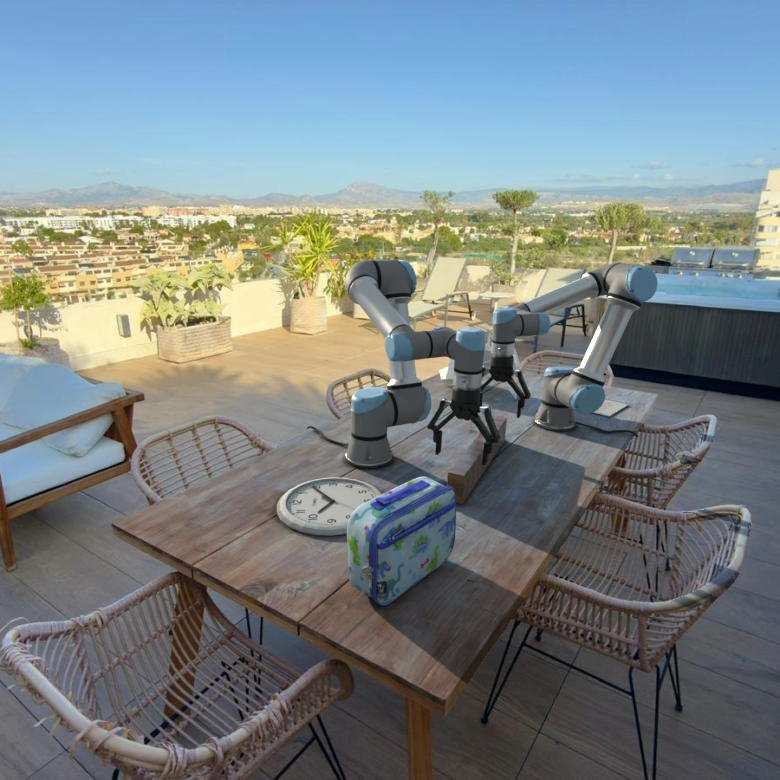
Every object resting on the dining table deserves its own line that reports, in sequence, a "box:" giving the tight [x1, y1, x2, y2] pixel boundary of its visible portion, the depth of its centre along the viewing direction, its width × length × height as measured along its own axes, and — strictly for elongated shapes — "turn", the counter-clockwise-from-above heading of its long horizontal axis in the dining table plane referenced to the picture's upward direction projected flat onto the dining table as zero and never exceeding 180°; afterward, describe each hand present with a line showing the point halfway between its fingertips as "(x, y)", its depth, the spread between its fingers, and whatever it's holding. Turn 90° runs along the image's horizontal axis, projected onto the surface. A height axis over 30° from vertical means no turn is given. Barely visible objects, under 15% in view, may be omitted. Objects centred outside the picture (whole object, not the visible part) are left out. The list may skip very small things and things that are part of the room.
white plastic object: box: [438, 311, 528, 400], centre depth 245 cm, size 37×45×31 cm
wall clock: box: [276, 476, 384, 537], centre depth 142 cm, size 30×2×30 cm
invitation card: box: [591, 398, 629, 418], centre depth 226 cm, size 21×1×15 cm
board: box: [446, 415, 508, 505], centre depth 166 cm, size 51×5×9 cm, turn 155°
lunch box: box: [346, 475, 457, 607], centre depth 111 cm, size 26×11×21 cm, turn 134°
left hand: (460, 458), depth 147 cm, fingers open, 13 cm apart
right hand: (498, 414), depth 182 cm, fingers open, 13 cm apart
